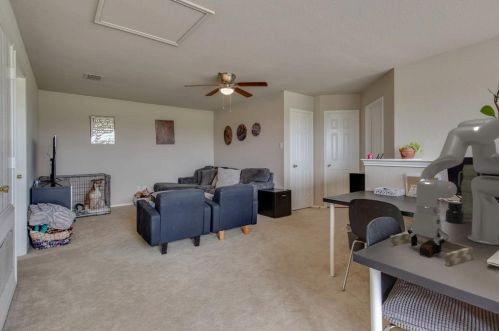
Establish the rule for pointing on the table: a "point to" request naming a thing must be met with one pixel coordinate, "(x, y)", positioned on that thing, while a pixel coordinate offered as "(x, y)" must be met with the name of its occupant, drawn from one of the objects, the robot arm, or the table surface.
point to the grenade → (467, 189)
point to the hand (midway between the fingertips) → (425, 249)
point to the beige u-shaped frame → (455, 250)
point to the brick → (427, 248)
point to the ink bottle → (455, 213)
